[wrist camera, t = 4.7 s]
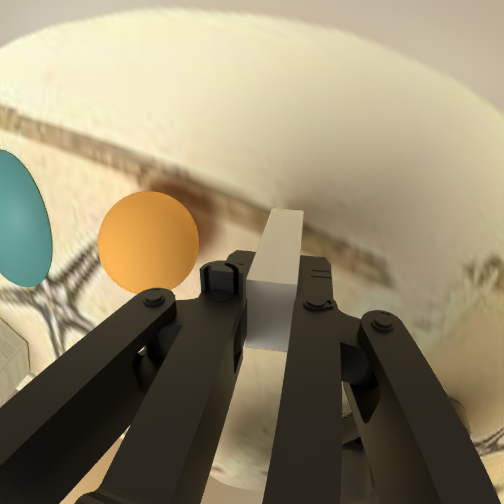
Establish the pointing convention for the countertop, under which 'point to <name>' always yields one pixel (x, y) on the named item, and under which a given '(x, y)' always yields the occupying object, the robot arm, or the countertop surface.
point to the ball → (148, 242)
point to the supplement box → (11, 361)
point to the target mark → (22, 226)
